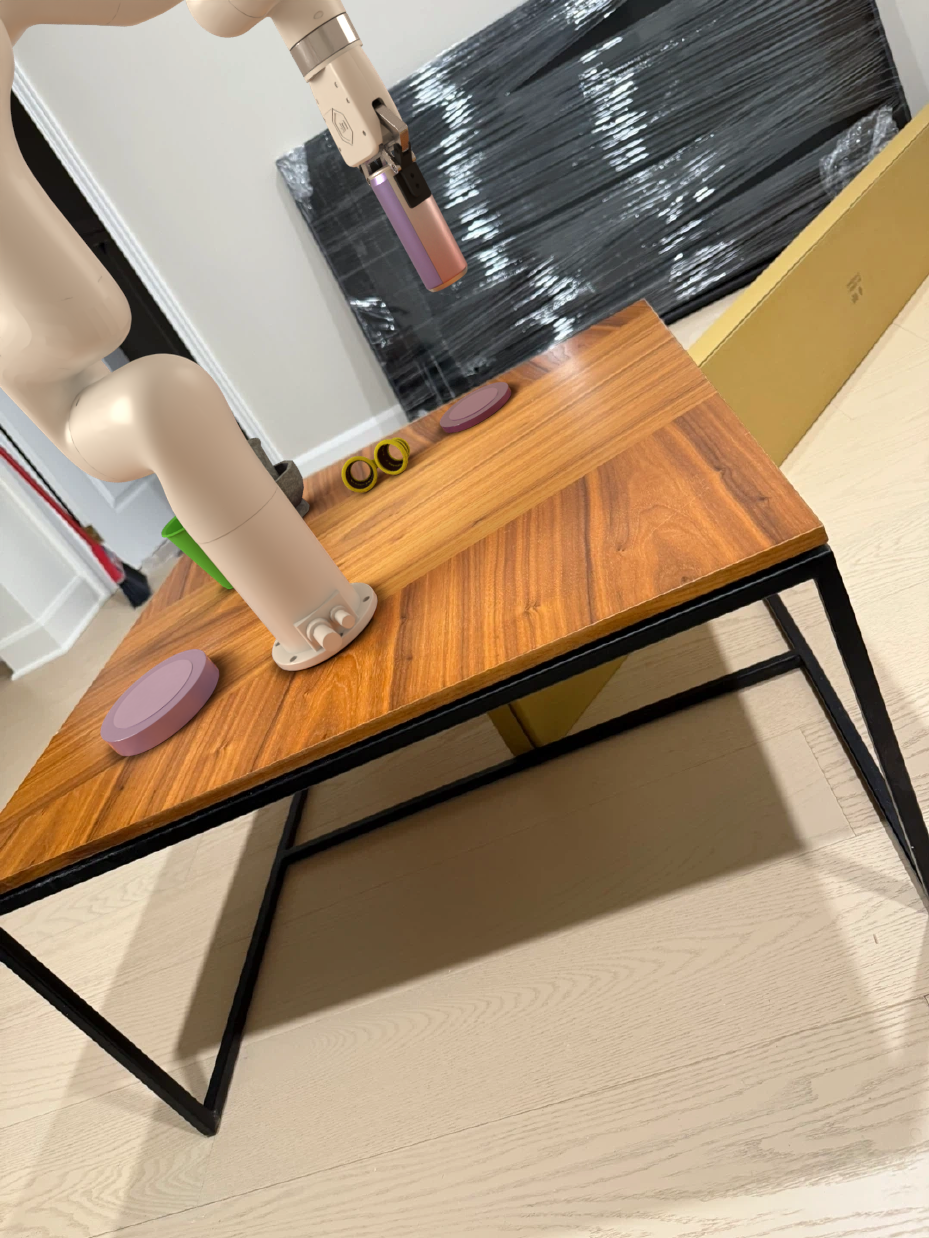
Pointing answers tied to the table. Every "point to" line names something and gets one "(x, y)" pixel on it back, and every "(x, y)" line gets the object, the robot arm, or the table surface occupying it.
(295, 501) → the mortar and pestle
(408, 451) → the opera glasses
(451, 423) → the plum dish
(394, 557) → the table surface
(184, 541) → the cup
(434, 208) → the beverage can
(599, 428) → the table surface
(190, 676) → the lavender dish
